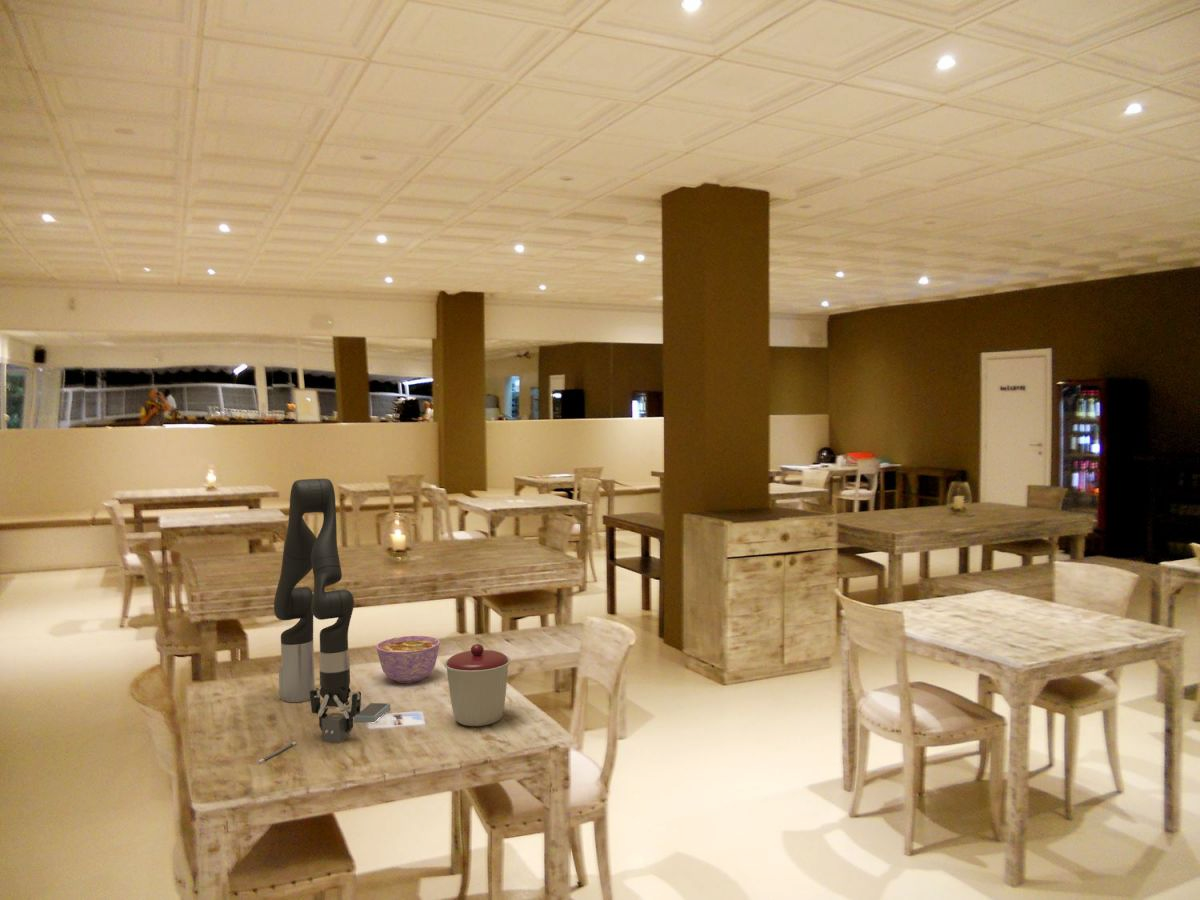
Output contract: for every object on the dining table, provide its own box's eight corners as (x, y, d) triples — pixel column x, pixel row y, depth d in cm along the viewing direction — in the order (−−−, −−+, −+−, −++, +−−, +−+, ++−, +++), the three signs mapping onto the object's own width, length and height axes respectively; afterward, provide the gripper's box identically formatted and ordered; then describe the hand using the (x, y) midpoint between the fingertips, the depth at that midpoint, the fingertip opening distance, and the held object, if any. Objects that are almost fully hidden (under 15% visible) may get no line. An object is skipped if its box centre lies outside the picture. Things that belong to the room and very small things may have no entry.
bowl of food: (373, 674, 280) (372, 639, 280) (435, 667, 287) (434, 633, 287) (380, 692, 261) (379, 654, 261) (446, 684, 269) (445, 647, 268)
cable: (260, 763, 208) (260, 760, 208) (258, 762, 209) (258, 760, 209) (296, 744, 220) (296, 741, 220) (294, 743, 221) (294, 741, 221)
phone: (354, 723, 236) (353, 715, 236) (370, 710, 247) (370, 702, 247) (374, 724, 235) (374, 716, 235) (390, 710, 246) (390, 703, 246)
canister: (525, 716, 238) (523, 641, 237) (481, 737, 223) (480, 657, 222) (476, 705, 248) (474, 633, 247) (431, 724, 233) (429, 647, 232)
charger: (320, 743, 221) (319, 719, 221) (333, 734, 227) (332, 712, 226) (337, 744, 220) (336, 721, 220) (349, 736, 225) (349, 713, 225)
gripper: (301, 669, 221) (303, 733, 222) (351, 673, 217) (353, 737, 218) (318, 661, 228) (320, 723, 229) (366, 664, 225) (368, 727, 225)
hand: (336, 730), depth 224 cm, fingers open, 6 cm apart
